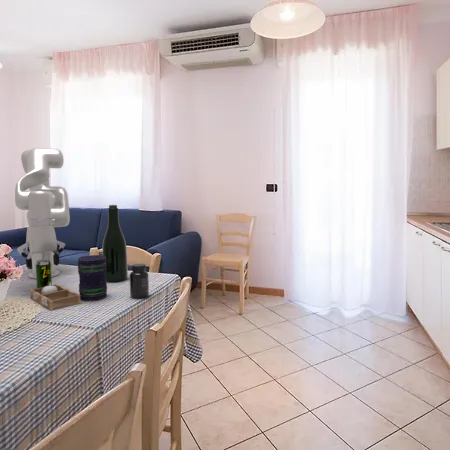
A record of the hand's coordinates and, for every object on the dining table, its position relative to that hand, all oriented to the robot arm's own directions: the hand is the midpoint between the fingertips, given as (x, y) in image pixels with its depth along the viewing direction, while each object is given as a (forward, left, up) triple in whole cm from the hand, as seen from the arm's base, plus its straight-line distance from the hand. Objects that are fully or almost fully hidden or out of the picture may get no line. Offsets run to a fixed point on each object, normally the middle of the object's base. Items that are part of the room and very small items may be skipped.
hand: (43, 266), depth 140 cm
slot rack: (+14, -2, -10) cm, 17 cm away
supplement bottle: (+32, +22, -10) cm, 40 cm away
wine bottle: (+4, +28, -10) cm, 30 cm away
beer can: (-1, 0, -10) cm, 10 cm away
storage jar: (+21, +10, -10) cm, 25 cm away
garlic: (+10, -2, -10) cm, 14 cm away
